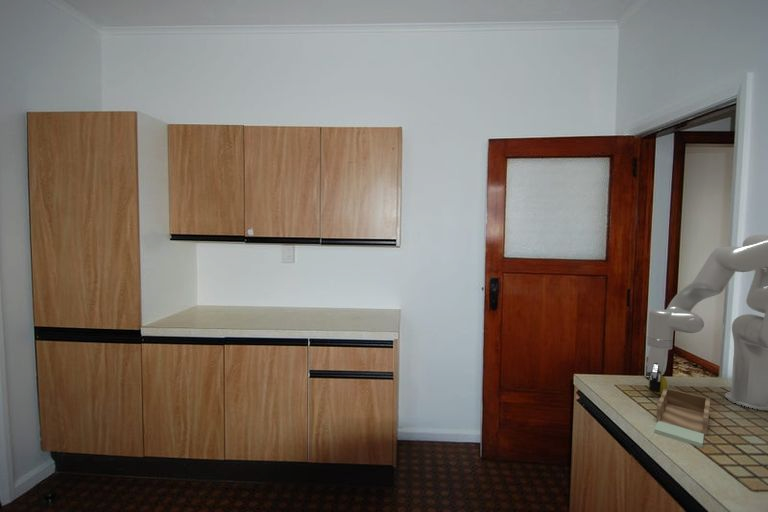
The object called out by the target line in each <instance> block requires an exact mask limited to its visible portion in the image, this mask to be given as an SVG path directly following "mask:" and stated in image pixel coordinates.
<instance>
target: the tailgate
mask: <svg viewBox="0 0 768 512" xmlns="http://www.w3.org/2000/svg"><path fill="white" fill-rule="evenodd" d="M654 434H658V435H661V436H664V437H667V438H670V439H673V440H676V441H680V442H683V443H687V444H689V445H692V446H696V447H699V448H703V446H704V439H705V435H704V434H703V433H699V432H696V431H692V430H689V429H685V428H682V427H679V426H675V425H672V424H668V423H665V422H661V421H658V422H657V423H656V426H655V427H654Z"/></svg>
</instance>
